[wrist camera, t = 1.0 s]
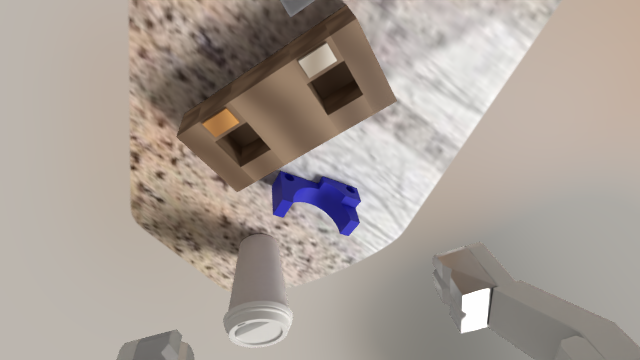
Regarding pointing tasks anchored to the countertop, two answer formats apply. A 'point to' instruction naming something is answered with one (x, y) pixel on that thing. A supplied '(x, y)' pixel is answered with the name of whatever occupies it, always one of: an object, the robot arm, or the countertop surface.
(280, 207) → the cable clip
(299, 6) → the plug
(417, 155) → the countertop surface
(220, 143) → the socket block
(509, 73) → the countertop surface
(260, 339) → the coffee cup
